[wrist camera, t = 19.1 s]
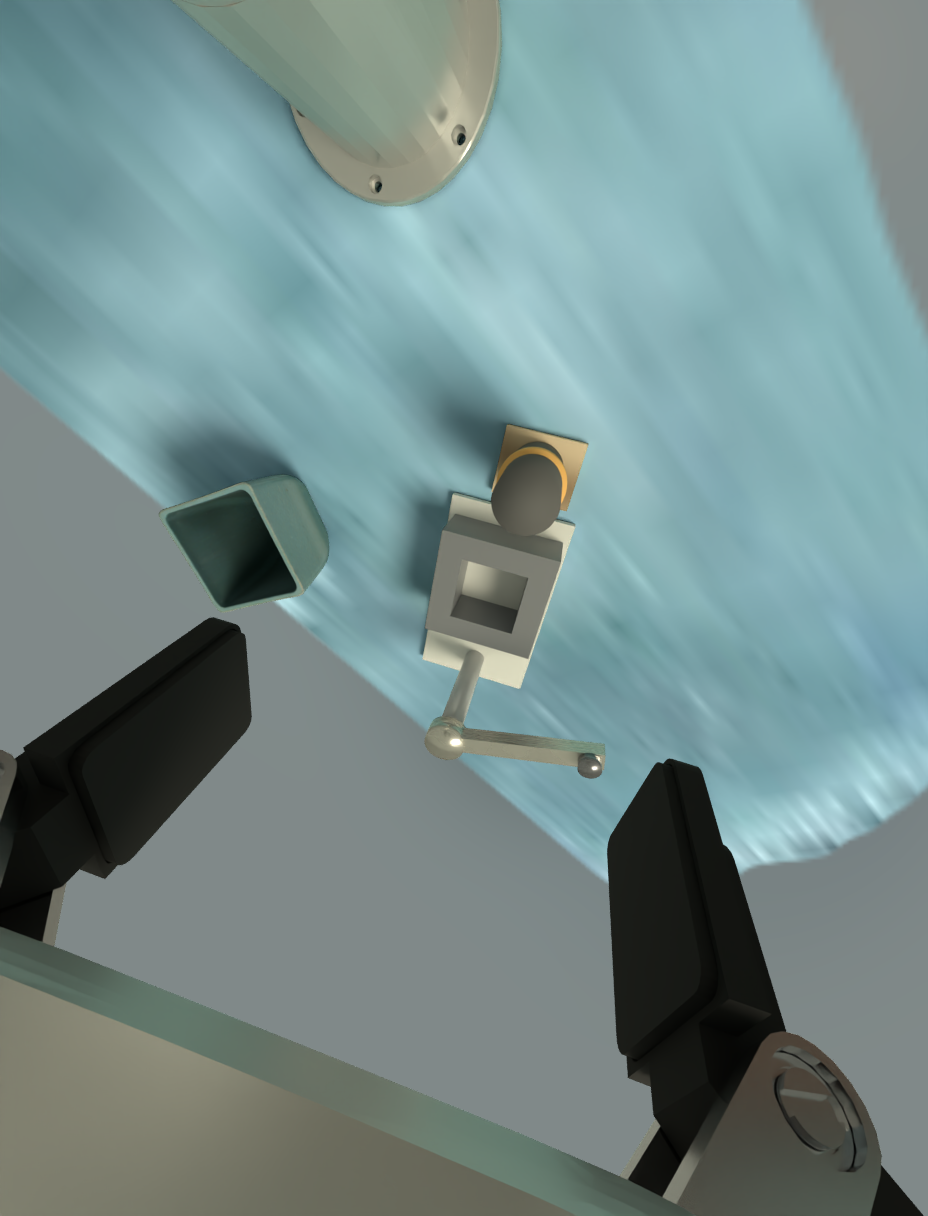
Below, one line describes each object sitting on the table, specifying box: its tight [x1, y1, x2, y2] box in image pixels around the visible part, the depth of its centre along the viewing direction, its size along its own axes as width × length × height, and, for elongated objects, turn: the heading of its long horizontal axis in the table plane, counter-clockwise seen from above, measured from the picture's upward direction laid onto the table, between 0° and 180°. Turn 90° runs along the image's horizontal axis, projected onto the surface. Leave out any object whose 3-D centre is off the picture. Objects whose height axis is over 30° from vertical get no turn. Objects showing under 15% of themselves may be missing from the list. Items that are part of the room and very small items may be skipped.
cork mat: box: [492, 424, 588, 511], centre depth 34 cm, size 5×6×1 cm
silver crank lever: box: [425, 716, 605, 778], centre depth 33 cm, size 13×3×2 cm, turn 94°
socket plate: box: [423, 492, 575, 724], centre depth 36 cm, size 17×10×10 cm, turn 169°
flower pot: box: [159, 474, 329, 612], centre depth 37 cm, size 9×9×9 cm
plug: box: [491, 441, 567, 536], centre depth 30 cm, size 5×5×9 cm
